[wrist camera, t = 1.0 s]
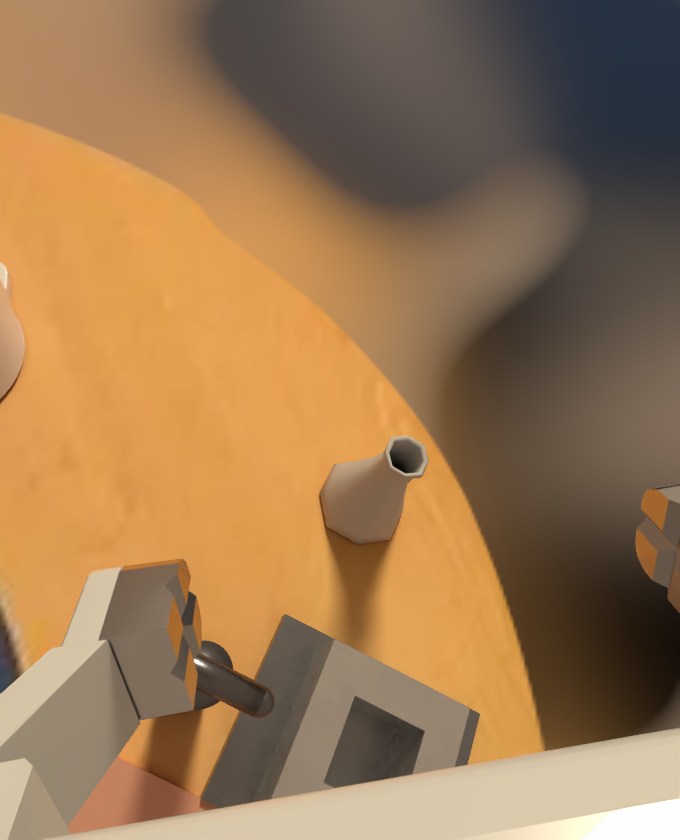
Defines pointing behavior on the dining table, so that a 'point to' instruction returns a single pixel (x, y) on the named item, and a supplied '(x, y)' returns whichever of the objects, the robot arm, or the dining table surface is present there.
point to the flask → (372, 491)
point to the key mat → (133, 799)
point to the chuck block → (335, 724)
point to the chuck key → (228, 684)
